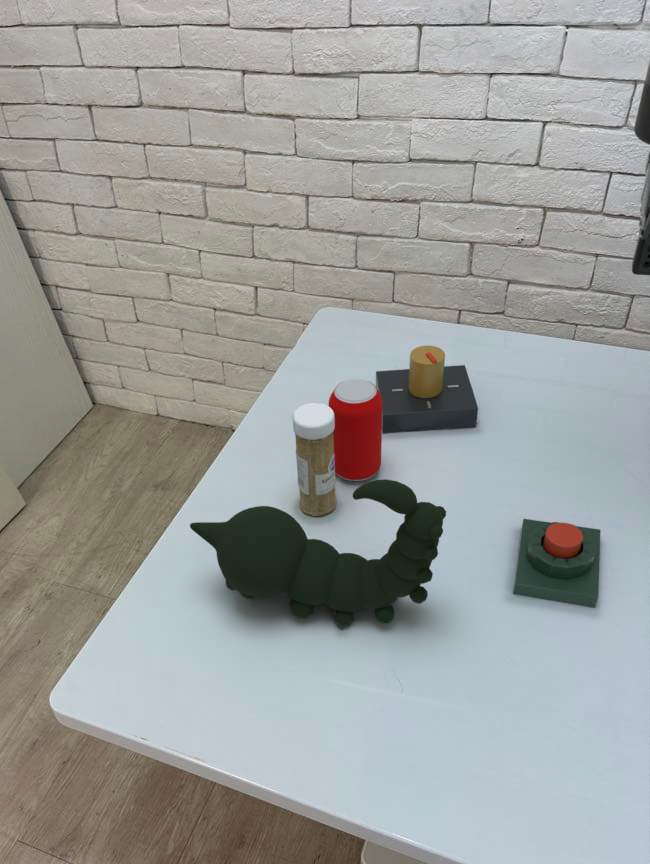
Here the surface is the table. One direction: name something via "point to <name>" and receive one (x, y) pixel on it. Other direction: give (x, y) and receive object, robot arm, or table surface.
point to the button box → (557, 567)
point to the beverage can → (357, 429)
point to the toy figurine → (328, 557)
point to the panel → (426, 402)
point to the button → (563, 540)
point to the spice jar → (315, 458)
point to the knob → (426, 371)
